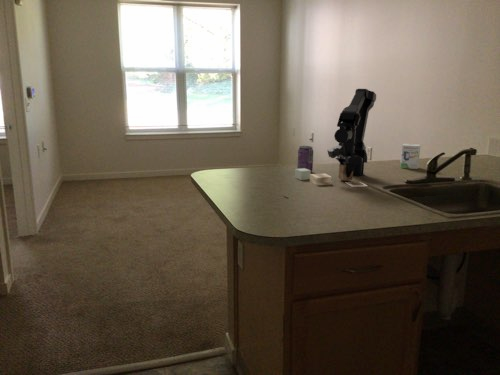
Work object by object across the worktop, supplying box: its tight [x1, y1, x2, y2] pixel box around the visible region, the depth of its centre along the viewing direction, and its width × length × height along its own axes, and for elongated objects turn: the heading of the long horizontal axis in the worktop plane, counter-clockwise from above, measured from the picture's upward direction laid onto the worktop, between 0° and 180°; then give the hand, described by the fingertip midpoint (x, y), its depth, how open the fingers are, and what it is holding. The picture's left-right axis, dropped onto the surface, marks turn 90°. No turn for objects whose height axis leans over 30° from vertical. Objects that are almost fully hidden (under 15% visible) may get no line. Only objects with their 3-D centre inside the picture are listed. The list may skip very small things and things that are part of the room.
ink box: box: [399, 143, 421, 170], centre depth 223 cm, size 9×5×12 cm, turn 73°
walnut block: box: [338, 163, 354, 181], centre depth 192 cm, size 4×4×6 cm
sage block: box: [294, 168, 312, 181], centre depth 197 cm, size 5×5×4 cm
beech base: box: [309, 173, 333, 186], centre depth 189 cm, size 7×7×4 cm
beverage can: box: [296, 145, 314, 173], centre depth 209 cm, size 7×7×12 cm
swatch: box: [345, 181, 369, 188], centre depth 187 cm, size 7×7×1 cm
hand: (345, 176), depth 193 cm, fingers closed on walnut block, 4 cm apart
